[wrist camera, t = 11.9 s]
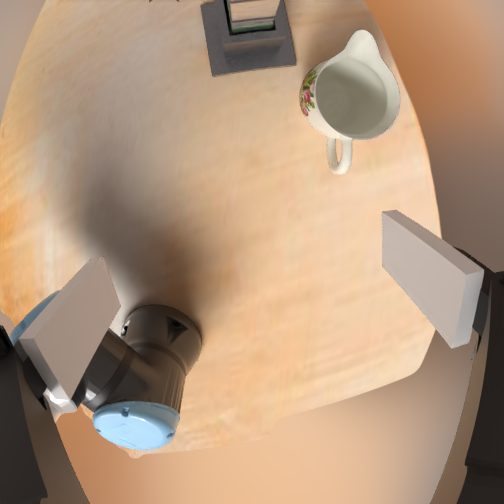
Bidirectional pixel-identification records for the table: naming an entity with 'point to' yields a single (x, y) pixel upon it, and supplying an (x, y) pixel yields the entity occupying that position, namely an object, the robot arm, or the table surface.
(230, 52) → the stand
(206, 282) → the table surface
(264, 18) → the column
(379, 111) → the pitcher
